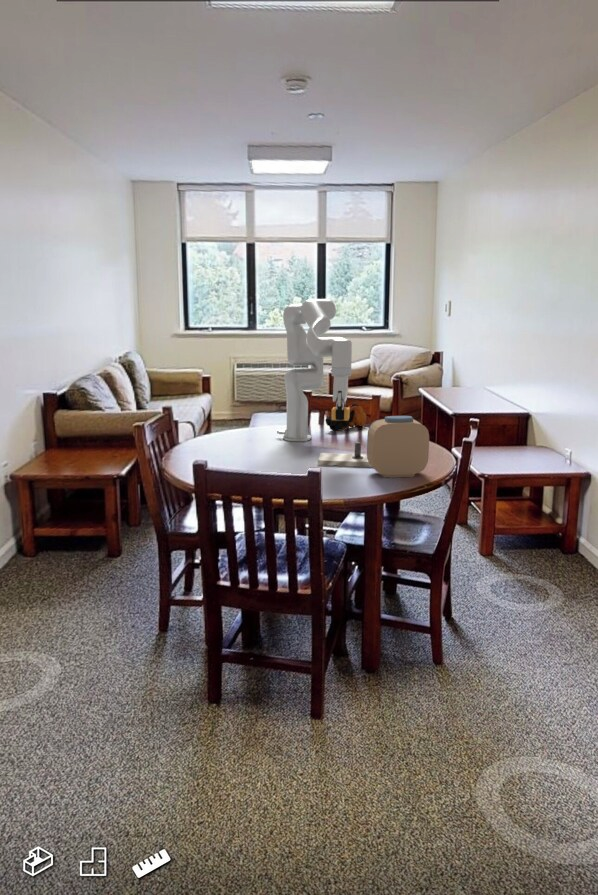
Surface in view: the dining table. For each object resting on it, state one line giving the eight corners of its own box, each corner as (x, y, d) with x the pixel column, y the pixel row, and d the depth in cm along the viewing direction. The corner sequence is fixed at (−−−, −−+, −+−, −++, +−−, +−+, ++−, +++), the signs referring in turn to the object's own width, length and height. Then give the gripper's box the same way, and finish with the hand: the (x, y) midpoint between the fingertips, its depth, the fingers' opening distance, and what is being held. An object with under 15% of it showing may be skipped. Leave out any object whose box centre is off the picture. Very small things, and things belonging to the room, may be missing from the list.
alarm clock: (419, 470, 258) (422, 413, 253) (427, 476, 249) (430, 418, 244) (366, 471, 256) (367, 414, 251) (372, 478, 246) (373, 419, 241)
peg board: (317, 465, 265) (318, 445, 263) (320, 457, 276) (321, 438, 275) (375, 467, 262) (375, 446, 260) (375, 459, 274) (376, 440, 272)
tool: (329, 444, 331) (320, 417, 325) (359, 421, 343) (351, 394, 336) (341, 447, 326) (333, 419, 319) (371, 423, 337) (364, 396, 331)
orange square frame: (331, 420, 263) (331, 409, 262) (333, 417, 269) (333, 406, 268) (348, 420, 262) (348, 410, 261) (349, 417, 268) (349, 407, 267)
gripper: (333, 368, 270) (333, 413, 274) (329, 374, 254) (328, 422, 258) (352, 369, 269) (352, 414, 273) (349, 374, 252) (348, 422, 257)
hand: (340, 417), depth 265 cm, fingers closed on orange square frame, 6 cm apart
